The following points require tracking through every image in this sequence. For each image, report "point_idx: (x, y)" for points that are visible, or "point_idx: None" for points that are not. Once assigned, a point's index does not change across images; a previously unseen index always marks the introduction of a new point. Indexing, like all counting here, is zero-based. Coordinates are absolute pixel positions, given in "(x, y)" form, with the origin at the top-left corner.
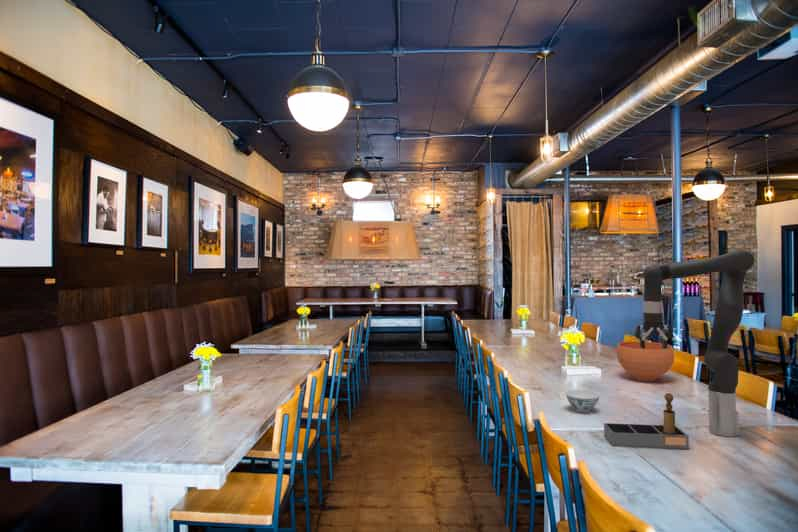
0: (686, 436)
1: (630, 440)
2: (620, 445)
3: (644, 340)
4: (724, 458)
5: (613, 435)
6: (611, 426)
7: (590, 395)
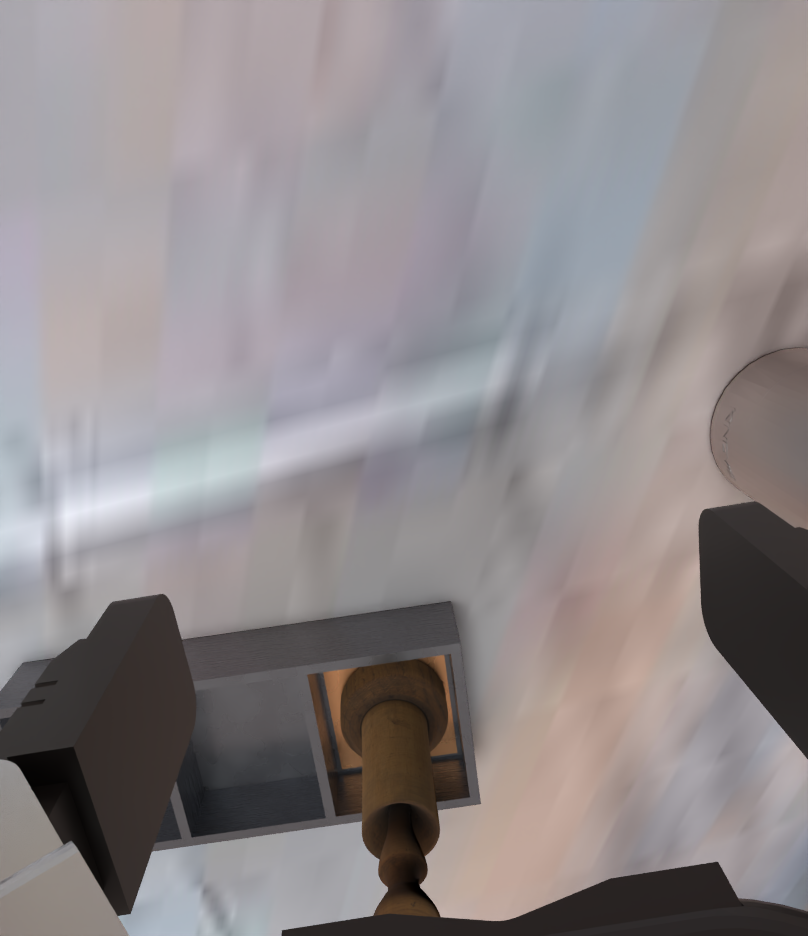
0: (468, 802)
1: None
2: None
3: (120, 894)
4: (603, 818)
5: None
6: None
7: None
